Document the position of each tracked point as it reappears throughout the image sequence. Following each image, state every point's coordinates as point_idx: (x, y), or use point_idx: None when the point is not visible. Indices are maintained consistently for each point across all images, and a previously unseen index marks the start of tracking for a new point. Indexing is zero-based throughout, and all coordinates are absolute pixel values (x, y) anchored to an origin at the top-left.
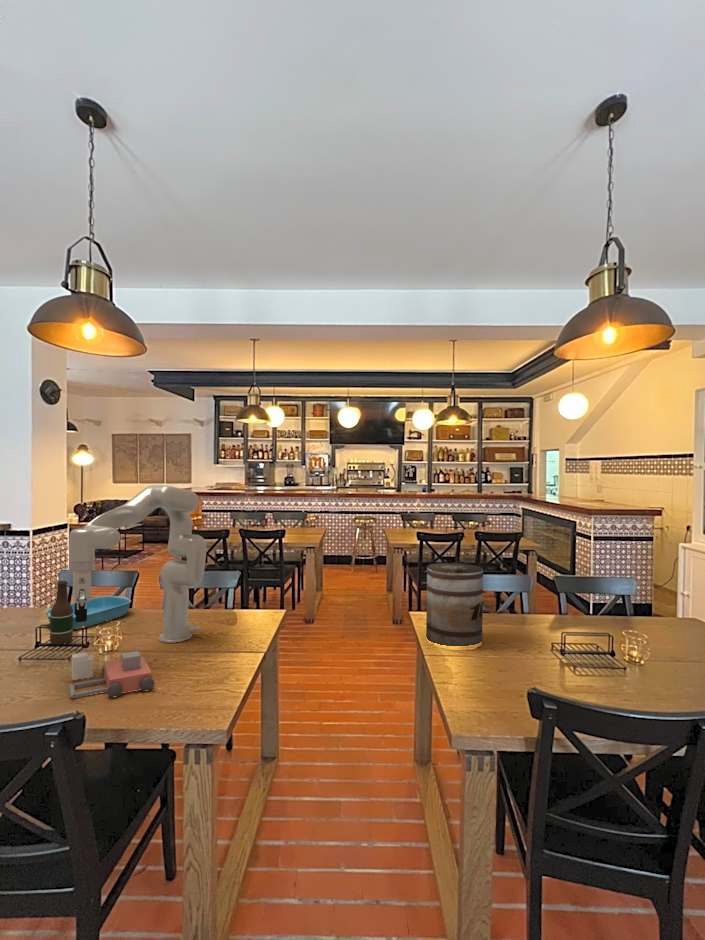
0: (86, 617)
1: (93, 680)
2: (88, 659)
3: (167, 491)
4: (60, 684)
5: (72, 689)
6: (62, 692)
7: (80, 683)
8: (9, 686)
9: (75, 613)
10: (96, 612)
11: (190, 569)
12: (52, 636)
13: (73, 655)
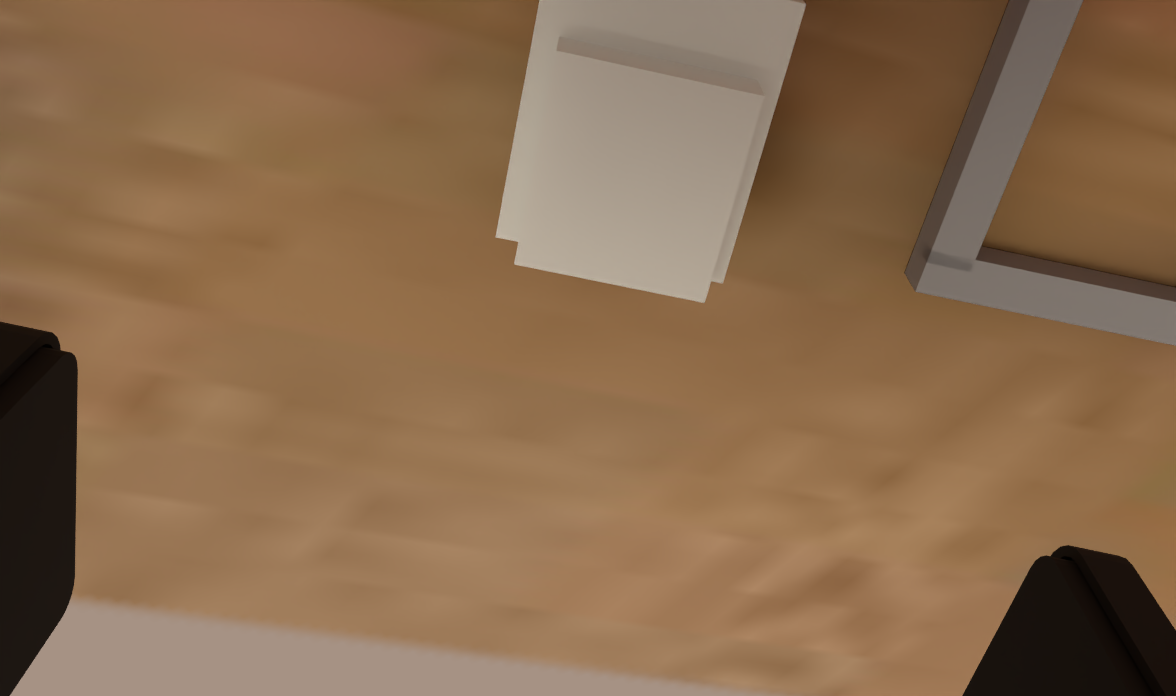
0: (1173, 643)
1: (1023, 40)
2: (762, 71)
3: None
4: (717, 311)
5: (1090, 303)
6: (957, 348)
7: (987, 190)
8: (438, 637)
9: (55, 623)
10: None
11: None
12: None
13: (584, 262)
